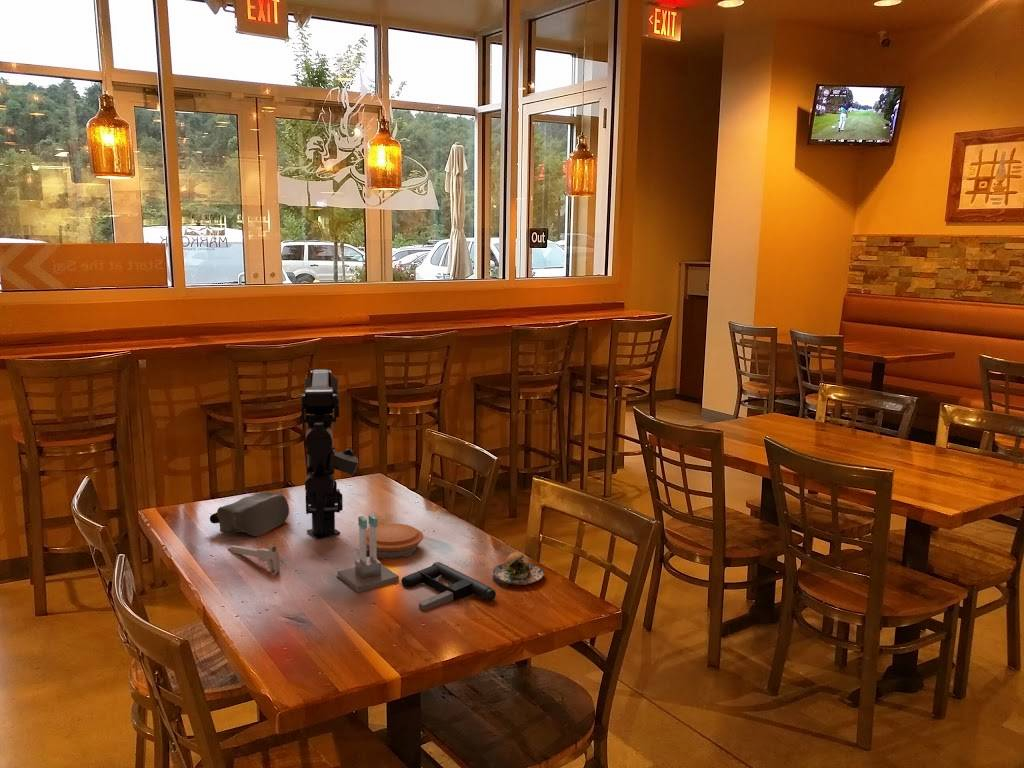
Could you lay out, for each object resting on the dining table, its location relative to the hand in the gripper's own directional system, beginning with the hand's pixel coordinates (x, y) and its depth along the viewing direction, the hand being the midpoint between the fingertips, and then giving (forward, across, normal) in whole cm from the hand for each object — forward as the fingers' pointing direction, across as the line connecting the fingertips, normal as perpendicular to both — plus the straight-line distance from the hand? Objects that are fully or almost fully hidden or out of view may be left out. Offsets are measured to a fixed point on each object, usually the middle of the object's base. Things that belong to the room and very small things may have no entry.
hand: (321, 508), depth 189 cm
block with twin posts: (+12, -12, -10) cm, 19 cm away
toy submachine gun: (+14, -21, -26) cm, 36 cm away
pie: (+13, +5, -16) cm, 22 cm away
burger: (+14, -16, -44) cm, 49 cm away
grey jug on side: (+13, +25, +19) cm, 34 cm away
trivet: (+13, -12, -10) cm, 20 cm away
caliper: (+14, +2, +16) cm, 21 cm away
